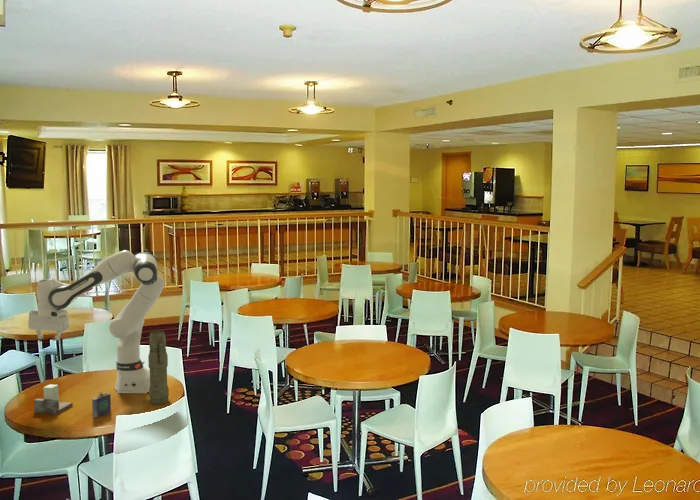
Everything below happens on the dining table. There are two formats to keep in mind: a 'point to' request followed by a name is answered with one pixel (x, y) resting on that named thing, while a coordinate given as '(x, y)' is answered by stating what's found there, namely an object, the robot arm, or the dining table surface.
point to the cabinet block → (51, 392)
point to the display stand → (50, 406)
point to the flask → (101, 405)
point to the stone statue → (158, 368)
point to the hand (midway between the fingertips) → (49, 339)
